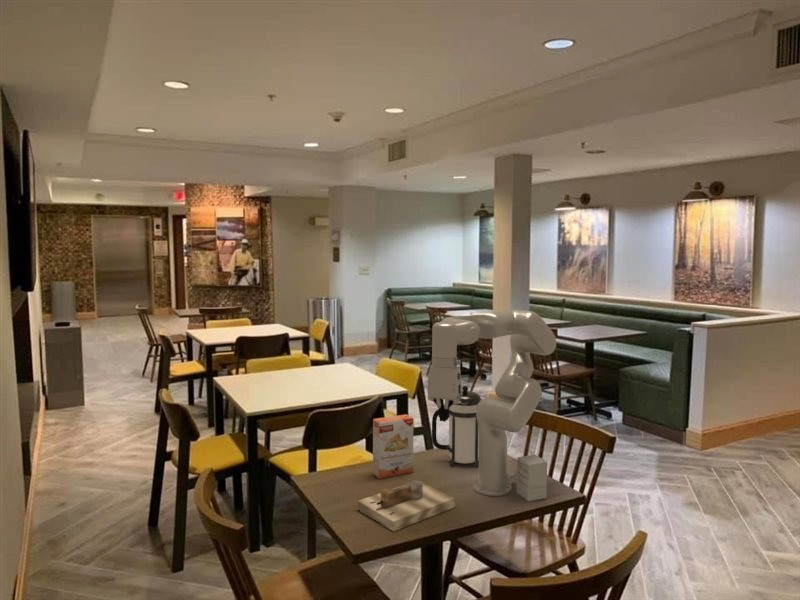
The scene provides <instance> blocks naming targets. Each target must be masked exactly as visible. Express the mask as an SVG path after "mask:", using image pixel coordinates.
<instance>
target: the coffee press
mask: <svg viewBox="0 0 800 600" xmlns="http://www.w3.org/2000/svg"><path fill="white" fill-rule="evenodd" d="M460 399H461V402H460V403H459V404H453V405H452V406H451V407H449V418H448V444H440V443H439V441H438V439H437V420H438V418H439V408H437V410H435V412H434V413H433V415H432V419H431V442H432V444H433V446H434V447H435V448H436V449H439V450H442V451H443V450H444V451H448V457H449V459H450V462H449V467H452V468H454V467H455V466H456V465H457V464H473V466H474V467H475V469H477V468H478V469H479V427H478V421H477V416H476V409H477V405H478V403H479V402H480V401H481V400H482V399H483V398H482V397H481V396H480V394H479V393H477V392H475V391H472V390H469V387H468V385H463V386H462V395H461V397H460Z"/></svg>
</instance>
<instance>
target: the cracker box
mask: <svg viewBox="0 0 800 600" xmlns="http://www.w3.org/2000/svg"><path fill="white" fill-rule="evenodd" d="M414 419H415V418H413V417H412V416H410V415H409V414H407V413H406V414H405V413H404V414H399V415H393V416H385V417H378V418H373V419H372V425H373V427H372V474H373V475H374V476H375V477H376V478H377V479H378V480H379V479H385V478H391V477H395V476H402V475H406V474H412V473H413V472H414V471H413V470H414V469H413V467H414V466H413V465H414V424H415V423H414Z"/></svg>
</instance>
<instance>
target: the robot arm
mask: <svg viewBox="0 0 800 600" xmlns="http://www.w3.org/2000/svg"><path fill="white" fill-rule="evenodd" d="M431 334H432V335H431V338H432V339H431V341H432V343H431V345H432V346H431V351H432V353H431V360H432V361H431V365H430V367H429V372H428V376H427V386H426V387H427V400H429V401H431V402H433V403H434V404H435V405H436V406H437V407H436V408H437V409H439V415H438V418H439V421H440V422H446V421H449V407H451V406H452V405H453V404H459V403H460V402H461V399H460V397H461V395H462V391H463V390H462V388H463V386H462V375H461V370H460V366H458V365H461V363H462V361H461V359H459V358H458V356H457V352H458V351H457V350H458V349H457V348H458V345H471V344H472V345H473V344H474V343H476V342H478V340H479V339H496V338H501V337H506V336H510V339H509V342H510V350H511V358H510V359H511V360H510V362H509V364H508V366H507V367H506V368H505V371H504V372H503V373H502V374H501V377H500V378H499V380H498V381H497V383H496V385H495V388H494V390H495V391H494V392H495V395H496V397H489V396H488V397H484V398H481V399H482V400H481V401H480V402H479V403H478V405H477V409H476V416H477V421H478V427H479V460H478V461H479V467H478V478H477V479H478V480H476V481H475V482H474V483H473V489H474V490H475V491H476V492H477V493H479V494H481V495H484V496H489V497H491V496H492V497H500V496H504V495H508V494H509V493H511V490H512V485H511V484H510V483H509V481H510V480H512V479H514V478H515V477H516V475H515V473H514V472H512V471H511V472H509V473H508V472H507V471H508V470H507V469H508V437H507V434H506V432H509V433H519V432H521V430H523V429H524V427H525V426H526V425H527V423H528V421H529V420H530V418H531V417H532V415H533V413H534V411H535V410H536V408H537V406H538V405H539V403H540V400H541V398H542V387H541V384H540V383H539V382H538V381H537V380H536V379H534V378H532V375H533V373H534V363H533V360H532V357H531V354H534V355H541V356H549V355H551V354H553V353H554V352H555V350H556V348H557V339H556V336H555V333H554V331H552V330H551V328H550V327H549V326H548V323H546V322H545V320H544V319H543V318H542V317H541V316H540V315H539V314H538V313H536V312H535V311H532V310H522V309H504V310H501V311H494V312H487V313H474V314H473V313H472V314H461V315H454V316H448V317H445V318H443V319H442V320H440V321H438V322H435V323H434V324H433V325H432V330H431ZM497 397H498V398H497ZM444 400H445V401H444Z"/></svg>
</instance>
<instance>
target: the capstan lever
mask: <svg viewBox="0 0 800 600" xmlns="http://www.w3.org/2000/svg"><path fill="white" fill-rule="evenodd" d="M423 483H424V482H422V481H420V480H409V481H407V483H406V484H407V485H406V484H404V485H405V486H403V485H401V486H402V487H400V486H398V487H399V488H397V487H395V488H396V489H394V488H392V490H391V489H388V488H382V489H381V490H380V493H381V502H378V503H377V505H379V504H381V506H382V507H384V508H385V507H388V506H391V505H394V504H397V503H400V502H403V501H405V500H408V499H419V498H421V497H422V496H423Z"/></svg>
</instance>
